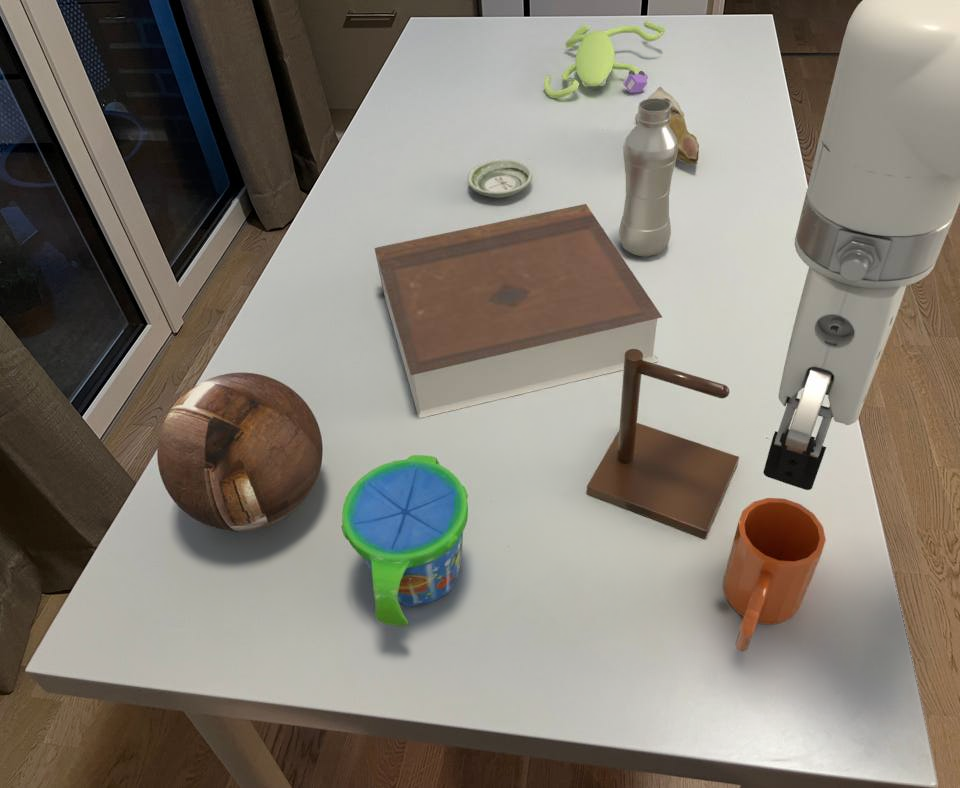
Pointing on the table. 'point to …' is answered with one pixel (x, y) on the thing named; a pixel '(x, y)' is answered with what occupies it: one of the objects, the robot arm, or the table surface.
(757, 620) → the mug
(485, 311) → the book
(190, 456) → the wooden sphere
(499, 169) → the saucer
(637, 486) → the mug stand
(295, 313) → the table surface
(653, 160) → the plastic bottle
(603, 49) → the figurine
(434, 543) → the snack cup
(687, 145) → the ceramic sculpture
